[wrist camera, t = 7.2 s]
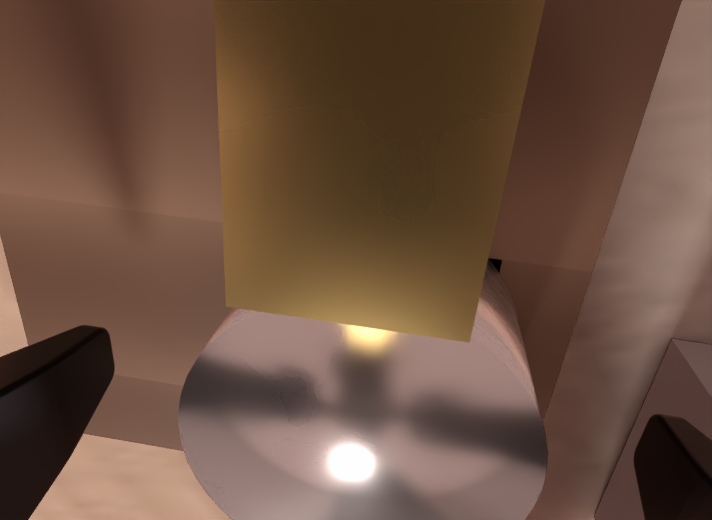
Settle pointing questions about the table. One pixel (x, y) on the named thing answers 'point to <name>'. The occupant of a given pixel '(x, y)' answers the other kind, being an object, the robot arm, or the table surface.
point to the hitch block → (203, 181)
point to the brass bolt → (367, 154)
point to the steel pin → (365, 419)
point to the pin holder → (666, 396)
